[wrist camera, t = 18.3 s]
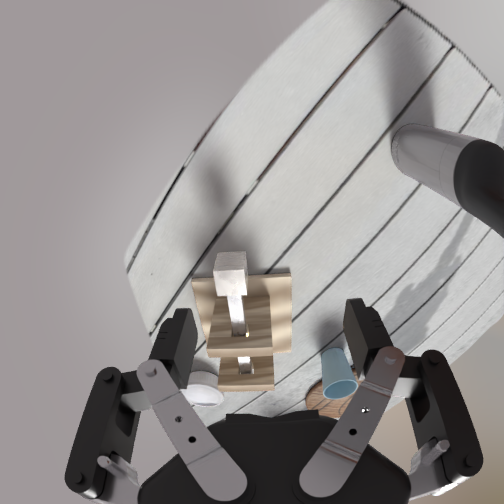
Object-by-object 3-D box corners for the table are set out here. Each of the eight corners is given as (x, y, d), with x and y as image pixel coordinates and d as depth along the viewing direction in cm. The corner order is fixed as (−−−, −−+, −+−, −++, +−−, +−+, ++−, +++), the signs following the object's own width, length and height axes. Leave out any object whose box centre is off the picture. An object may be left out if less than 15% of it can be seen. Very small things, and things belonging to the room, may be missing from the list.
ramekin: (192, 392, 70) (190, 408, 66) (176, 369, 65) (172, 385, 61) (231, 390, 69) (229, 406, 64) (217, 365, 64) (215, 382, 59)
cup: (349, 360, 62) (358, 393, 53) (319, 368, 64) (325, 402, 55) (346, 340, 59) (357, 376, 50) (314, 349, 60) (320, 385, 51)
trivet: (290, 409, 74) (291, 414, 72) (334, 360, 63) (335, 365, 61) (357, 414, 78) (358, 419, 76) (404, 370, 66) (406, 375, 65)
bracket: (192, 278, 52) (175, 330, 39) (290, 272, 51) (299, 326, 38) (210, 351, 61) (202, 401, 49) (290, 348, 60) (296, 399, 48)
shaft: (217, 252, 40) (212, 271, 36) (245, 250, 40) (244, 269, 36) (238, 368, 53) (236, 388, 48) (258, 367, 52) (258, 387, 48)
